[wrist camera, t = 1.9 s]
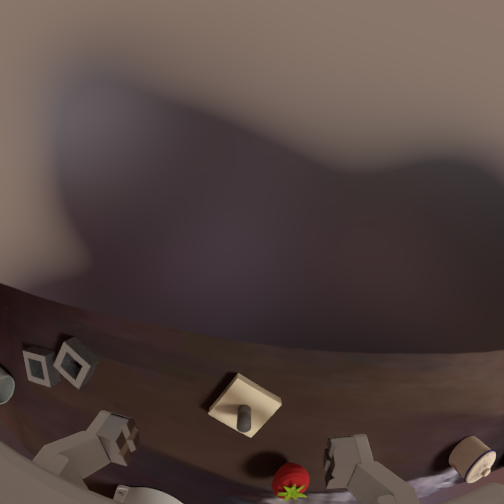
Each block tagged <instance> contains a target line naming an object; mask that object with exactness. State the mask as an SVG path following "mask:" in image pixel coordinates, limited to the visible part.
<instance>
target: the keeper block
mask: <svg viewBox="0 0 504 504" xmlns="http://www.w3.org/2000/svg"><path fill="white" fill-rule="evenodd" d="M281 405H282V403H281V398H279V397H277V396H276V395H274V394H272V393H270V392H269V391H267V390H265V389H264V388H262V387H260V386H259V385H257V384H255V383H254V382H252V381H250V380H249V379H247V378H246V377H244V376H242V375H241V374H239V373H238V374H237V375H236V376H235V377H234V379H233V380H232V381H231V382H230V384H229V385H228V386H227V387H226V389H225V390H224V391H223V392H222V394H221V395H220V396H219V397H218V398H217V400H216V401H215V402H214V403H213V404H212V406H211V407H210V408H209V412H208V414H209V415H211V416H212V417H214V418H216V419H218V420H219V421H221V422H223V423H225V424H226V425H228V426H230V427H232V428H233V429H235V430H237V431H239V432H241V433H243V434H245V435H246V436H248V437H250V438H251V437H252V436H253V435H254V434H255V433H256V432H257V431H258V430H259V429H260V428H261V427H262V426H263V425H264V423H265V422H266V421H267V420H268V419H269V418H270V417H271V416H272V415H273V414H274V412H275V411H276V410H277V409H278V408H279V407H280V406H281Z"/></svg>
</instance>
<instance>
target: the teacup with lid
mask: <svg viewBox="0 0 504 504" xmlns="http://www.w3.org/2000/svg"><path fill="white" fill-rule="evenodd" d="M495 458H496V453H495V451H494V450H491V449H490V448H488V447H487V446H486V445H485V444H483V443H482V442H481V441H480V440H478V439H477V438H476V437H475V436H469V437H467V438H465V439H463V440H462V441H461V442H460V443H459V444H458V445H457V446H456V447H455V448H454V449H453V451H452V452H451V454H450V457H449V464H450V465H451V466H452V467H453V468H454V469H455V470H456V471H457V472H458V473H459V474H460V475H461V476H462V477H463V478H464V481H465V482H467V483H473V482H475V481H477V480H478V479H480V478H481V477H482V476H487V475H488V474H489V473H490V468H491V466H492V465H493V463H494V461H495Z"/></svg>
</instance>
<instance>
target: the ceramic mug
mask: <svg viewBox="0 0 504 504" xmlns="http://www.w3.org/2000/svg"><path fill="white" fill-rule="evenodd" d="M14 386H15V384H14V380H13V378H12V377H11V376H10V375H9V374H8V373H6V372H5V371H4V370H3V369H2V368H1V367H0V404H3V403H6V402H7V401H8V400H9V399H10V397H11V396H12V394H13V391H14Z"/></svg>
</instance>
